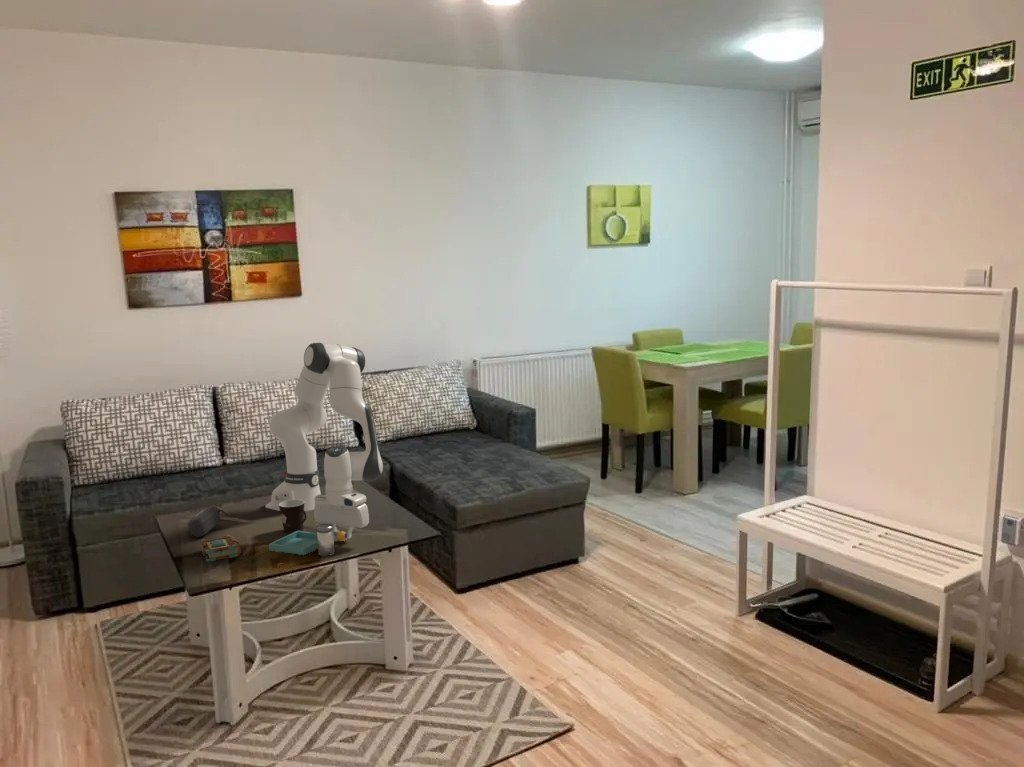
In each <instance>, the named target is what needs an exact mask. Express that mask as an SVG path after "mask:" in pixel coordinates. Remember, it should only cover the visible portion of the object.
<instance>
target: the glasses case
mask: <svg viewBox="0 0 1024 767" xmlns="http://www.w3.org/2000/svg"><path fill="white" fill-rule="evenodd" d="M221 512H222V513H223V514H225V516H229V513H227V512H226V511H224V510H223V509H220V508H218V507H216V506H215V505H210V506H207V507H205V508H203V509H201V510H200V511H198V512H197V513H196V514H195V515H193V516H192V517H190V519H189V520H188V522H187V526H186V529H187V533H191V534H192V535H193V537H195V536H196V537H195V538H200V537H202V536H204V535H206V534H207V533H208V532H210V531H211V530H212V529H213V528H214V527H216V525H218V523H220V521H221V516H220V515H221Z"/></svg>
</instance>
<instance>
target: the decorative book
mask: <svg viewBox="0 0 1024 767" xmlns="http://www.w3.org/2000/svg"><path fill="white" fill-rule="evenodd" d="M200 543H201V552H202V554H203V556H205V557H204V558H205V561H206V563H210V562H209V561H211V562H215V561H218V560H223V559H231V558H235V557H236V558H237V557H238V556H240V555H241V553H242V549H241V548H240V543H239V541H238V539H236V538H235V537H234V536H233V535H230V534H226V535H222V536H220V537H214V538H205V539H204V538H202V539H201V540H200ZM202 554H201V555H202Z"/></svg>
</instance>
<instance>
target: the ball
mask: <svg viewBox="0 0 1024 767" xmlns="http://www.w3.org/2000/svg"><path fill="white" fill-rule="evenodd" d="M345 533H347V532H346V531H343V530H342V531H340V532H339V533H338V534H337V537H336V539H337V541H339V542H340V541H344V542H346V541H347V540H348V538H345ZM345 540H346V541H345Z"/></svg>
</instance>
